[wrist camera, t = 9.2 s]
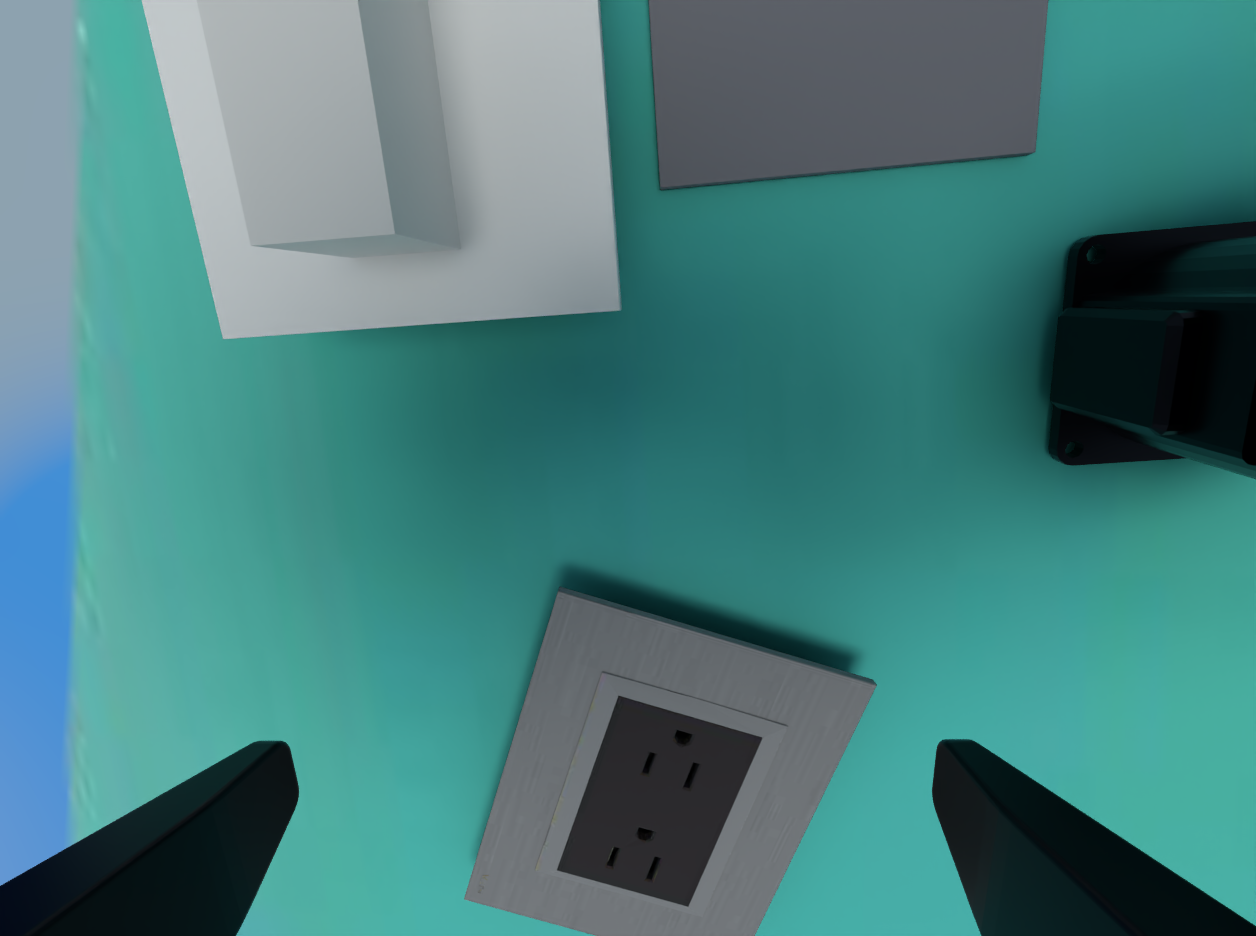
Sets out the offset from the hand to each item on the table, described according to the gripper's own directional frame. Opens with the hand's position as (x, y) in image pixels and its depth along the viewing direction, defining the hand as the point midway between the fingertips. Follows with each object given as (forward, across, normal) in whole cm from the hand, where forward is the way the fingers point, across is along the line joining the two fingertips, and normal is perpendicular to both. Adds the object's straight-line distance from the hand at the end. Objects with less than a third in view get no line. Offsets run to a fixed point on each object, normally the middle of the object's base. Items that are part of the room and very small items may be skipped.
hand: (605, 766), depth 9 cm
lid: (+8, +5, -10) cm, 14 cm away
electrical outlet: (+13, 0, +10) cm, 16 cm away
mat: (+12, -6, -14) cm, 20 cm away
